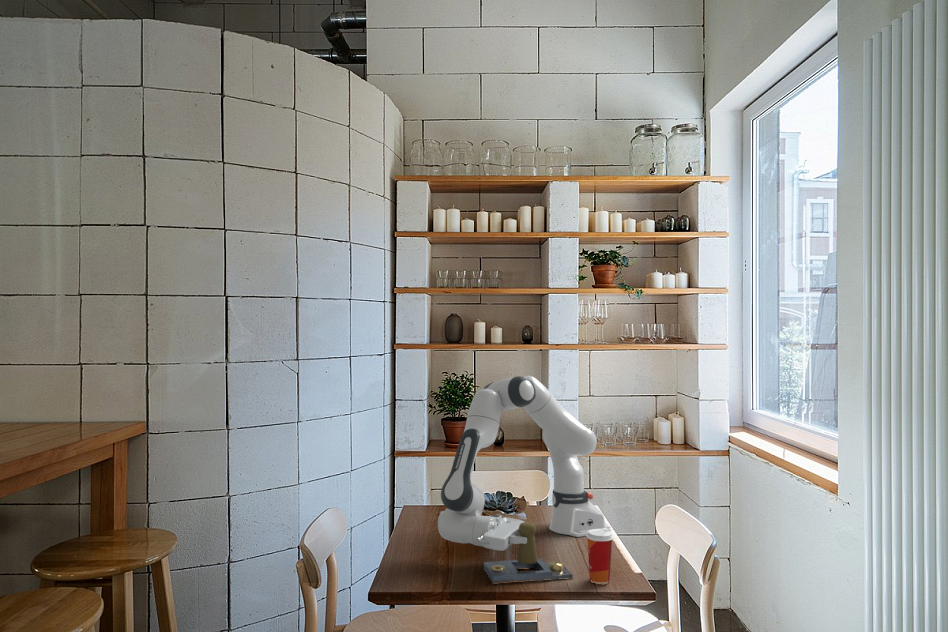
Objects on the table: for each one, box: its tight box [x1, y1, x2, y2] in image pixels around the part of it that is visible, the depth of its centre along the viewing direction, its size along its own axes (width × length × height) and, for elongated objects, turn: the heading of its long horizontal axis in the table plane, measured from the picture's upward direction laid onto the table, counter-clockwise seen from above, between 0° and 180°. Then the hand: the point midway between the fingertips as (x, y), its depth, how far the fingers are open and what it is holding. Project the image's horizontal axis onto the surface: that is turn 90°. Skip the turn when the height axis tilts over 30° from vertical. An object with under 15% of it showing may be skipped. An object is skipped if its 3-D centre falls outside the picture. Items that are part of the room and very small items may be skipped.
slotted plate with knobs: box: [483, 558, 574, 583], centre depth 185 cm, size 24×12×3 cm, turn 102°
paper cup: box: [585, 529, 614, 582], centre depth 181 cm, size 8×8×14 cm
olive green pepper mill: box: [516, 521, 538, 564], centre depth 186 cm, size 6×6×11 cm
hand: (530, 537), depth 185 cm, fingers closed on olive green pepper mill, 4 cm apart
